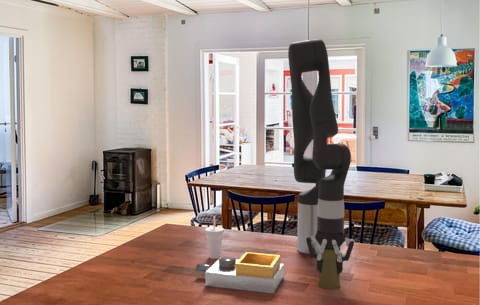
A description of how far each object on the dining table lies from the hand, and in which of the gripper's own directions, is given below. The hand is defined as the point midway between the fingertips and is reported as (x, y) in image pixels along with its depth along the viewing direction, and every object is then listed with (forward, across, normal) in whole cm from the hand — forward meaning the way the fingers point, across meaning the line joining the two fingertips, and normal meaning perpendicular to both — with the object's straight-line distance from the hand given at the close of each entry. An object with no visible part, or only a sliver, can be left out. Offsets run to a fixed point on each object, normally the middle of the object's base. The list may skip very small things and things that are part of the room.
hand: (329, 272), depth 139 cm
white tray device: (+4, +27, +4) cm, 27 cm away
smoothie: (+4, +40, -14) cm, 43 cm away
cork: (+4, 0, 0) cm, 4 cm away
